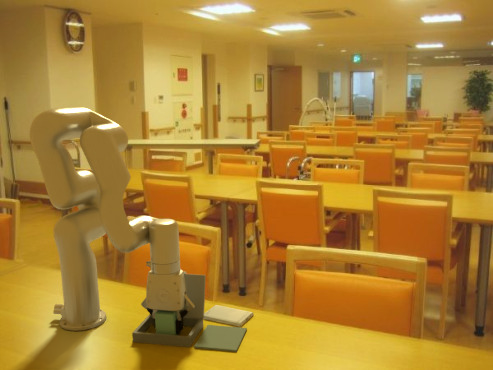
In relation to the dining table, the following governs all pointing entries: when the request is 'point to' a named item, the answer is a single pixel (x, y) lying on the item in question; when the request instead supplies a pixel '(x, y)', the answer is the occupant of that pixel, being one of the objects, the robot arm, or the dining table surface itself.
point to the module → (165, 322)
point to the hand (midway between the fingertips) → (169, 330)
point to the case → (167, 339)
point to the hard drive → (228, 315)
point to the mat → (221, 338)
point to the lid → (195, 294)
